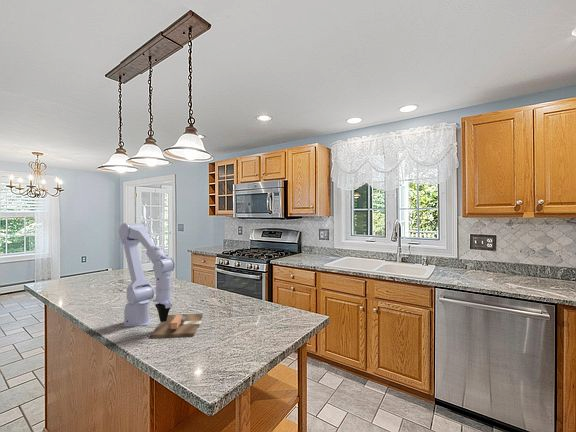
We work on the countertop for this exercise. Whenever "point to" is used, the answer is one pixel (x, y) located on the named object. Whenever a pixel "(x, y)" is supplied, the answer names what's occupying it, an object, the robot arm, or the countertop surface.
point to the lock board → (183, 330)
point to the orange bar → (177, 321)
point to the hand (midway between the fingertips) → (163, 321)
